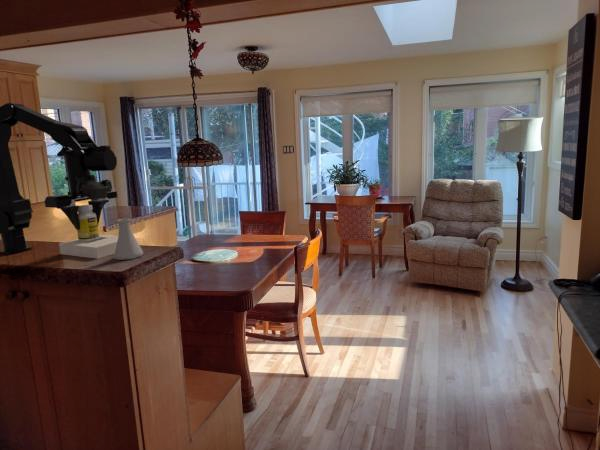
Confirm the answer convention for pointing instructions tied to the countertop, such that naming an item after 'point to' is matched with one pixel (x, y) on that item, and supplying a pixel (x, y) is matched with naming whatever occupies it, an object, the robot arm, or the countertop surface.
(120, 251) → the flask
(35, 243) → the countertop surface
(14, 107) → the robot arm
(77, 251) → the block
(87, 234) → the supplement bottle
